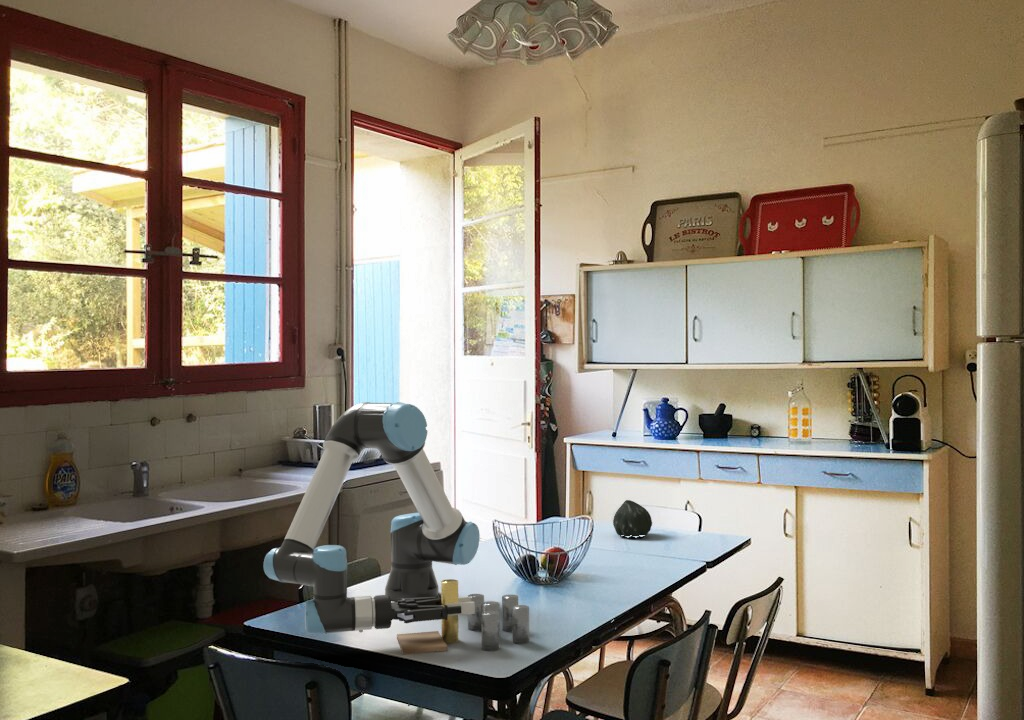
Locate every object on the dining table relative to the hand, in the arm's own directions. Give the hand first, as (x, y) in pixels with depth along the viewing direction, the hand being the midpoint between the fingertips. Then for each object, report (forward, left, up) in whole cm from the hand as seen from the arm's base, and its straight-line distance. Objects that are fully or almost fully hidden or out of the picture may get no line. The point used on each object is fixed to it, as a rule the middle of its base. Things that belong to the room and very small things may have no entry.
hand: (472, 605), depth 208 cm
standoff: (0, -5, -8) cm, 10 cm away
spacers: (0, +7, -8) cm, 10 cm away
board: (+1, -12, -8) cm, 15 cm away
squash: (-107, +85, -8) cm, 137 cm away
